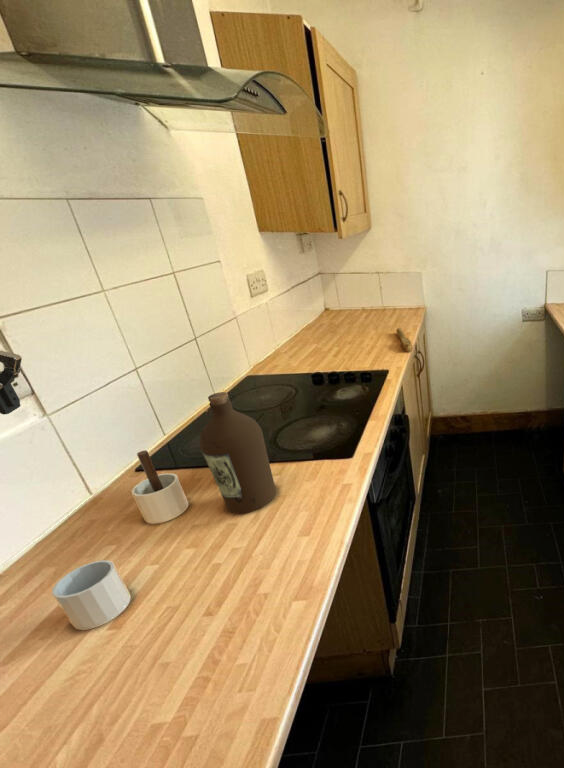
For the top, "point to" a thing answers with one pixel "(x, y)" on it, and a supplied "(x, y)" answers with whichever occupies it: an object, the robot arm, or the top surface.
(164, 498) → the white cup
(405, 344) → the rough brown stick
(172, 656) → the top surface
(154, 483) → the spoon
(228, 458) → the olive oil
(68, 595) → the white mortar
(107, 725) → the top surface
